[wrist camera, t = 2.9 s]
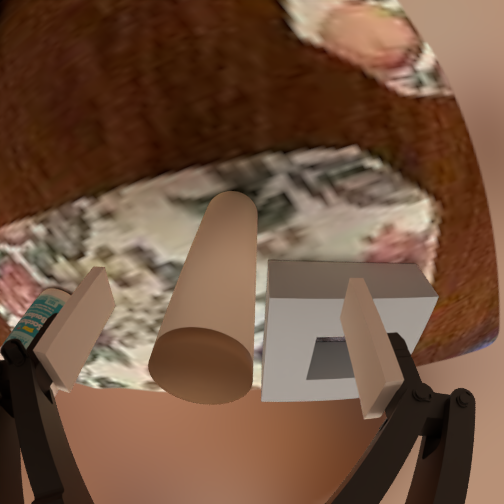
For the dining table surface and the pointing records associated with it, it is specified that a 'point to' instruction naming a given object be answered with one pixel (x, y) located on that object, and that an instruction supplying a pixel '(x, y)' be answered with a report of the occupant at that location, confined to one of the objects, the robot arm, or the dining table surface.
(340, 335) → the socket
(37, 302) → the pill bottle
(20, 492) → the robot arm
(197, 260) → the peg
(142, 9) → the dining table surface
